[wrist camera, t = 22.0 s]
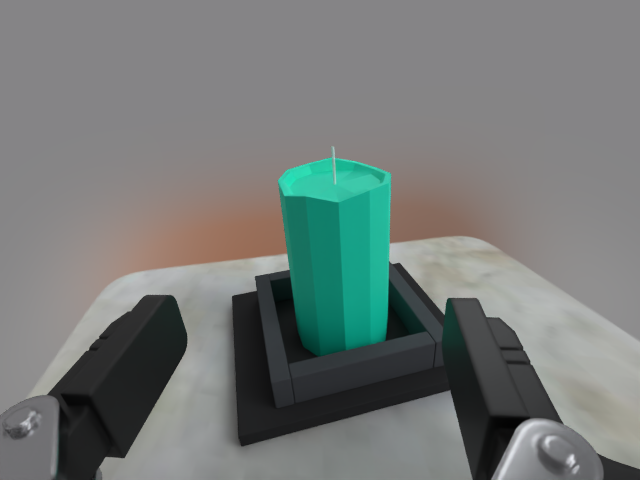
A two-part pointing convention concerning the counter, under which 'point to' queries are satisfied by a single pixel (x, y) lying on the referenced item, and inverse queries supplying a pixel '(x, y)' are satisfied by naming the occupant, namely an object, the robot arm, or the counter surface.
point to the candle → (338, 252)
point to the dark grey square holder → (329, 360)
